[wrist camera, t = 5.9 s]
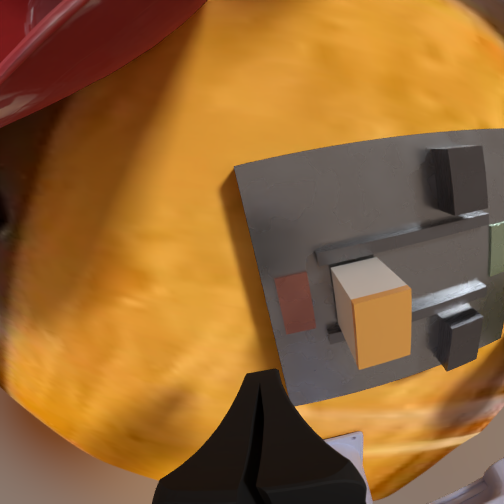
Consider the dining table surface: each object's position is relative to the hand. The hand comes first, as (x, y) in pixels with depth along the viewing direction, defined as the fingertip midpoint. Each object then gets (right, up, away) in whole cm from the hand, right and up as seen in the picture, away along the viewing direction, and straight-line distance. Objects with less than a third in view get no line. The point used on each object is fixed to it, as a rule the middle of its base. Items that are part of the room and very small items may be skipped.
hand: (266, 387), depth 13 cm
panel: (+10, +5, +8) cm, 14 cm away
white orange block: (+6, +3, +6) cm, 9 cm away
